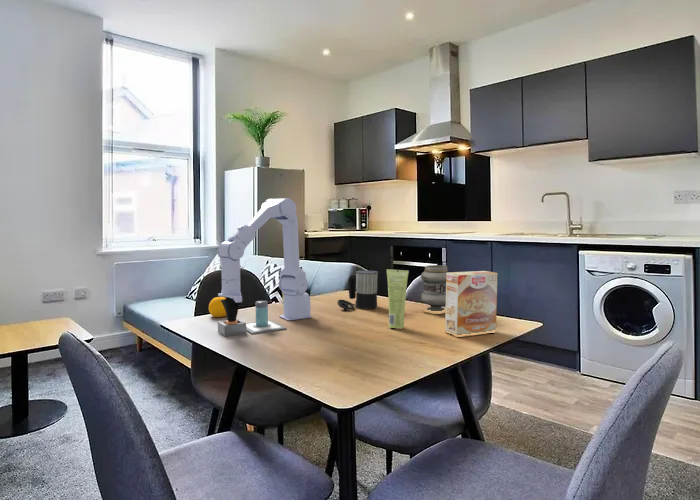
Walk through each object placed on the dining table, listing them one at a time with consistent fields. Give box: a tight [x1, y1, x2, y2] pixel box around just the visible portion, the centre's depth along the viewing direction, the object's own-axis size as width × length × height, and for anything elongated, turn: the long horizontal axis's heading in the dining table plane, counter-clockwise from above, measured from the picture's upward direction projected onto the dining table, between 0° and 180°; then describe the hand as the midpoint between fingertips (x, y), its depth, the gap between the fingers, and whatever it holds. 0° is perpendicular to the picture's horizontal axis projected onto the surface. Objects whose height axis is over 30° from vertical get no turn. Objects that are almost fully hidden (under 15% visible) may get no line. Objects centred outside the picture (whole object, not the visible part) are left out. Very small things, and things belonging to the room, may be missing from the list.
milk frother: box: [336, 269, 379, 311], centre depth 184 cm, size 14×16×15 cm
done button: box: [226, 320, 238, 325], centre depth 145 cm, size 4×4×2 cm
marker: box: [254, 300, 269, 327], centre depth 152 cm, size 4×4×8 cm
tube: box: [386, 269, 410, 329], centre depth 151 cm, size 6×5×20 cm
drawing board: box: [246, 319, 288, 335], centre depth 152 cm, size 12×13×1 cm
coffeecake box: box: [444, 270, 498, 335], centre depth 144 cm, size 15×7×20 cm, turn 112°
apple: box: [208, 296, 227, 318], centre depth 169 cm, size 8×8×8 cm
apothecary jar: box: [420, 264, 450, 311], centre depth 176 cm, size 12×12×18 cm
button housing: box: [217, 318, 247, 337], centre depth 145 cm, size 7×7×3 cm
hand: (231, 321), depth 145 cm, fingers closed, pressing on done button
